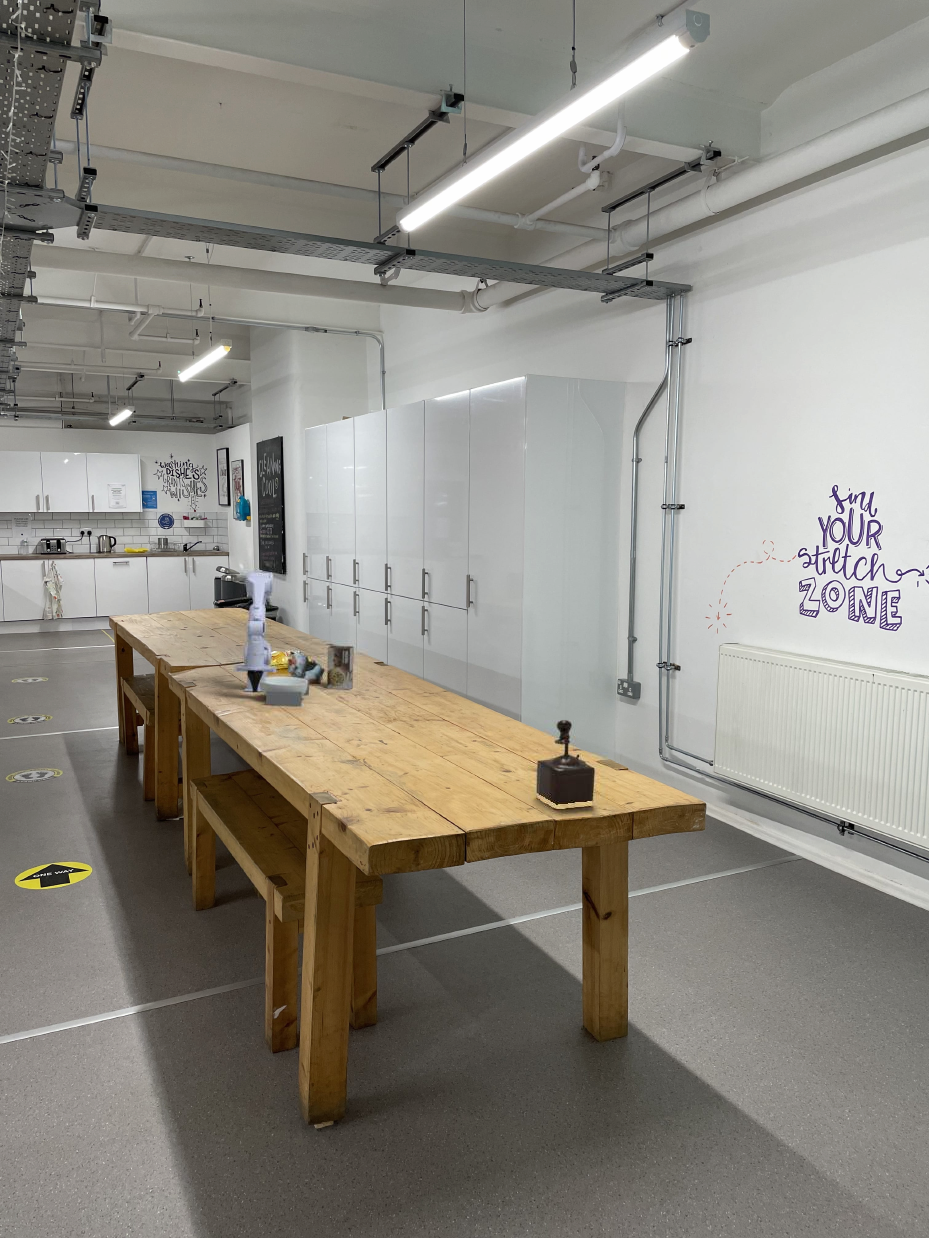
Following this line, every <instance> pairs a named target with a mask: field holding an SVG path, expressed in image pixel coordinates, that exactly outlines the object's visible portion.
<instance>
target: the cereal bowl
mask: <svg viewBox="0 0 929 1238" xmlns="http://www.w3.org/2000/svg"><path fill="white" fill-rule="evenodd" d="M307 686H308V681H307V680H305V679H302V678H295V677H293V676H268V677H267V678H262V679H261V680H260V688H261V691H262V694H263V695H265V696H266V691H267V690H275V691H302V697H303V696H305V695H304V694H305V692H306V690H307Z"/></svg>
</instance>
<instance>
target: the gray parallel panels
mask: <svg viewBox="0 0 929 1238" xmlns="http://www.w3.org/2000/svg"><path fill="white" fill-rule="evenodd" d="M309 695H310V684H309V681H308V686H307V690H306V692H305V694H304V695H303V696H309ZM303 696H302V691H275V690H267V691H266V695H265V697H266V699H265V704H266V706H280V707H282V706H285V707H302V701H303V700H302V699H303Z"/></svg>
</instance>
